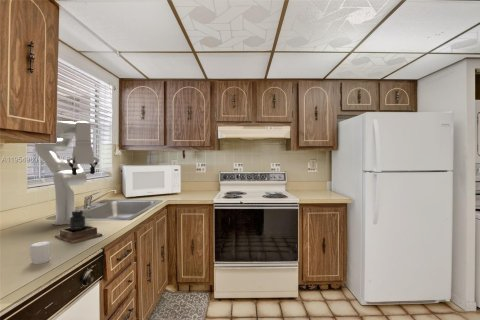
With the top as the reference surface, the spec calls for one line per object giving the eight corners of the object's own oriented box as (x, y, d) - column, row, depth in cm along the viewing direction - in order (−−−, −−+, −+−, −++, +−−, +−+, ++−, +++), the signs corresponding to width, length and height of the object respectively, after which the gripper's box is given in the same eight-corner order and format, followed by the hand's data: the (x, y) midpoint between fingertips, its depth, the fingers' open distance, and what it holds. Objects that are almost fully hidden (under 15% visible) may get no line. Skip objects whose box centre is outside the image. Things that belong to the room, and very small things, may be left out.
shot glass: (55, 257, 108) (54, 240, 108) (45, 264, 101) (45, 245, 101) (36, 258, 107) (36, 240, 107) (25, 265, 100) (25, 246, 100)
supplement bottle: (88, 232, 138) (88, 209, 138) (80, 236, 132) (80, 212, 131) (75, 232, 138) (75, 209, 138) (66, 236, 132) (66, 212, 131)
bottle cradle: (54, 237, 134) (54, 229, 134) (83, 230, 146) (83, 223, 146) (73, 243, 125) (72, 235, 124) (102, 235, 136) (102, 228, 136)
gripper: (94, 144, 159) (95, 173, 160) (63, 143, 145) (63, 175, 145) (101, 144, 155) (102, 173, 156) (70, 143, 141) (70, 175, 141)
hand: (83, 174), depth 151 cm, fingers open, 9 cm apart
